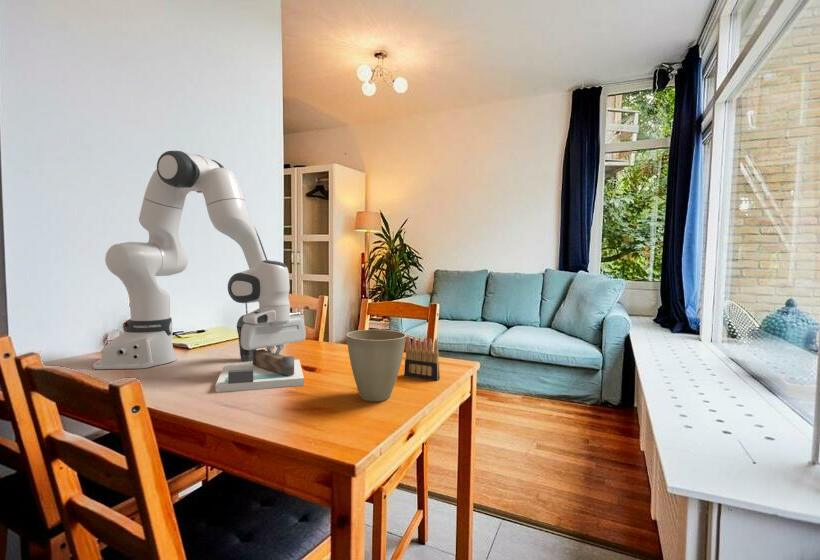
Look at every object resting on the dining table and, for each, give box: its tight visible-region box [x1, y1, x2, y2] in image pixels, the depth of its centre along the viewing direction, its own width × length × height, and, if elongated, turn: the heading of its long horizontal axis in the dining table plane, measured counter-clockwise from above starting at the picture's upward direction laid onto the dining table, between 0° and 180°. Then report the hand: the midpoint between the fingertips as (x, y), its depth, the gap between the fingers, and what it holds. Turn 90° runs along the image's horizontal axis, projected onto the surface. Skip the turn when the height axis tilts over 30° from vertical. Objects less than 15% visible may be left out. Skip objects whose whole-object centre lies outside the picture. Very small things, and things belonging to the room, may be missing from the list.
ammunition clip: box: [403, 335, 441, 382], centre depth 123 cm, size 11×2×12 cm, turn 64°
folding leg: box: [252, 348, 295, 376], centre depth 121 cm, size 18×3×5 cm, turn 49°
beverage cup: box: [236, 303, 257, 362], centre depth 141 cm, size 7×7×20 cm
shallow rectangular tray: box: [215, 359, 305, 393], centre depth 121 cm, size 22×22×5 cm
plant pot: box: [346, 329, 407, 403], centre depth 105 cm, size 15×15×16 cm
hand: (275, 359), depth 127 cm, fingers closed
